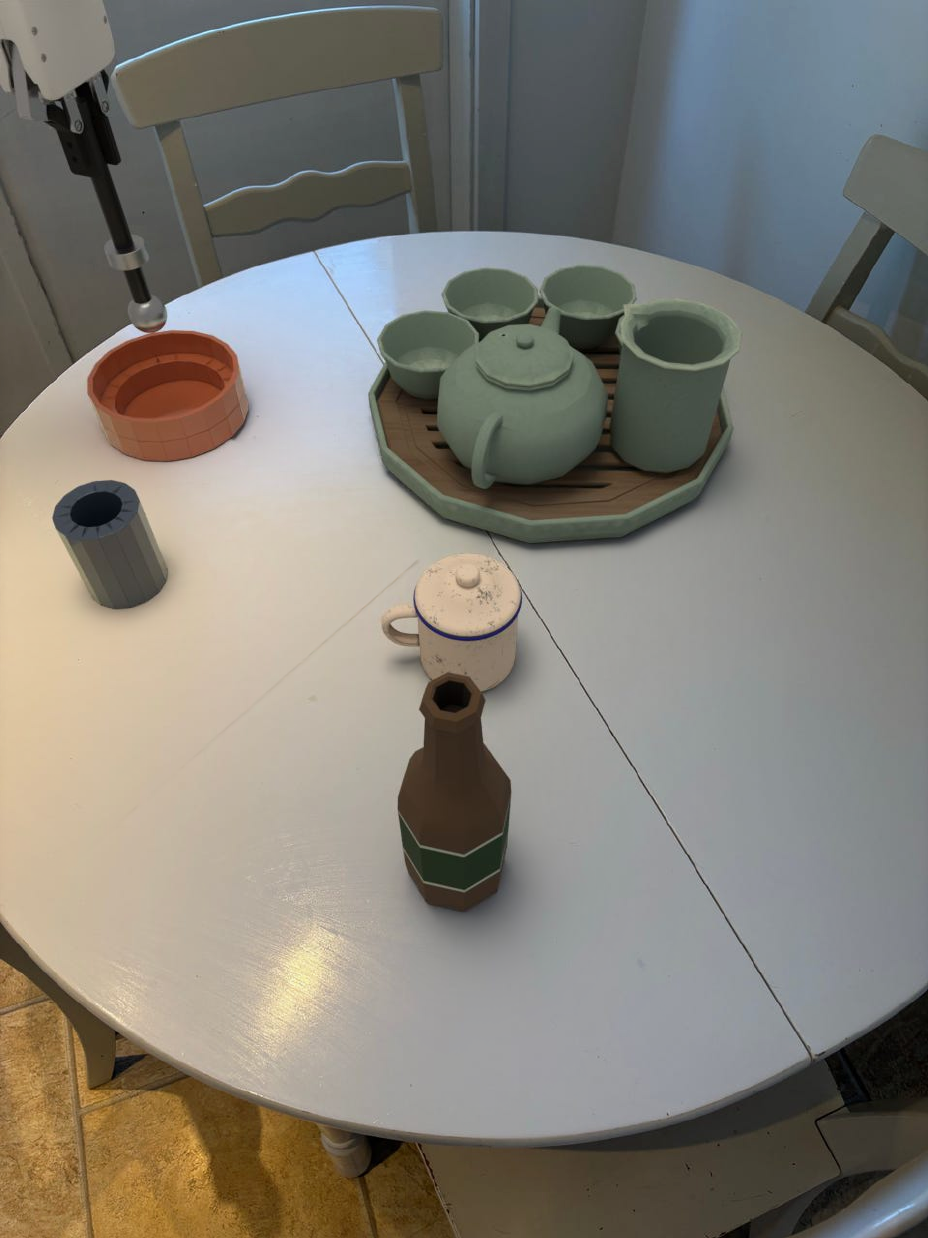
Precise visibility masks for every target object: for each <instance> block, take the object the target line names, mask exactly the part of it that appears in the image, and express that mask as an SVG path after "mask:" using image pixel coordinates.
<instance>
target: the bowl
mask: <svg viewBox="0 0 928 1238" xmlns="http://www.w3.org/2000/svg"><path fill="white" fill-rule="evenodd" d="M244 382H245V381H244V378H243V375H242V370H241V365H240V362H239V358H238V355H237V354H236V352H235V351H234V350H233V348H232V347H231V346H230V344H228V343H227V342H225V341H224V340H222V339H220V338H219V337H216V336H215V335H213V334H208V333H203V332H200V331H196V330H184V329H183V330H181V329H170V330H163V331H157V332H154V333H145V334H142V335H140V336H137V337H134V338H131V339H128V340H126V341H124V342H122V343H120V344H119V345H116V346H115V347H113V348H111V349H109V350H108V351H107V352H106V353H105V354H104V355H103V356H102V357H100V359H98V360H97V361H96V362H95V363H94V364H93V367H92V369H91V370H90V373H89V375H88V376H87V379H86V384H87V385H86V393H87V396H88V398H89V401H90V403H91V406H92V408H93V410H94V413H95V415H96V419H97V420H98V422H99V425H100V427H101V430H102V433H103V434H104V436H105V438H106V439H107V441H108V442H109V444H110V445H111V446H112V447H114V448H115V449H117V450H118V451H119V452H121V453H123V454H124V455H125V456H129V457H131V458H136V459H139V460H141V461H142V460H143V461H150V462H151V461H153V462H171V461H177V460H184V459H189V458H190V459H191V458H194V457H196V456H199V455H202V454H204V453H206V452H209V451H212V450H215V449H216V448H217V447H219V446H220V445H222V444H223V443H225V442H227V441H228V440H229V439H231V438H232V437H234V435H235V434H236V433H237V431H238V430H239V429H240V428H241V427H242V426H243V424H244V423H245V420H246V417H247V415H248V412H249V408H250V407H249V401H248V396H247V391H246V387H245V383H244Z"/></svg>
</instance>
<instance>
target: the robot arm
mask: <svg viewBox="0 0 928 1238" xmlns="http://www.w3.org/2000/svg"><path fill="white" fill-rule="evenodd" d="M117 64H118V59H117V55H116V47H115V41H114V37H113V33H112V29H111V25H110V21H109V17H108V15H107V11H106V8H105V5H104V2H103V0H0V86H1V88H2V90H3V91H4V93H6V94H8V95H15V105H16V111H17V115H18V117H19V118H20V119H22V120H26V121H34V122H43V123H45V124H47V126H48V128H49V129H50V130H55V131H56V134H57V136H58V140H59V143H60V145H61V148H62V151H63V154H64V157H65V159H66V162H67V166H68V168H69V170H70V172H71V173H72V174H73V175H74V176H75V175H76V176H81V177H86V178H90V177H92V178H97V179H100V178H102V177H103V176H104V169H103V165H102V162H101V159H100V156H99V153H98V150H97V147H96V144H95V141H94V138H93V135H92V132H91V130H90V129H86V128H84V124H83V121H82V118H81V115H80V112H79V109H78V106H77V103H76V100H75V97H83V98H85V99H86V102H87V105H88V108H89V111H90V113H91V116H92V119H93V122H94V125H95V128H96V131H97V134H98V137H99V140H100V143H101V146H102V149H103V152H104V155H105V158H106V161H107V164H108V165H111V166H118V165H119V164H121V162H122V158H121V154H120V151H119V148H118V145H117V141H116V138H115V134H114V132H113V128H112V125H111V122H110V119H109V116H108V115H109V113H110V111H111V104H110V101H109V96H108V91H109V84H110V79H111V77H112V75H113V73H114V72H115V69H116V67H117ZM57 102H60V104H61V107H60V106H59V105H57V104H56V103H57Z"/></svg>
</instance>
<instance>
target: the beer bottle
mask: <svg viewBox="0 0 928 1238" xmlns="http://www.w3.org/2000/svg"><path fill="white" fill-rule="evenodd" d="M485 703H486V698H485V696H484V695H483V693H482V692H481V691H480V690H479V689H478V687H477V686H476V685H475V683H474V682H473V681H472V679H471V678H470V677H469V676H464V675H459V674H454V673H449V672H447V673H445V674H443V675H441V676H439V677H437V678H436V679H434V680H432V679H431V680H430V681H428V682H427V685H426V687H425V689H424V692H423V695H422V699H421V701H420V705H419V708H418V710H419V712H420V713H421V715H422V717H423V718H424V723H423V724H424V725H423V727H424V729H423V746H422V747H420V748H418V749H417V750H415V751H413V753H412V755H411V756H410V758H409V759H408V763H407V766H406V769H405V772H404V776H403V779H402V783H401V786H400V788H399V792H398V795H397V816H398V822H399V828H400V837H401V844H402V851H403V859H404V863H405V868H406V870H407V873H408V874H409V876H410V877H411V880H412V881H413V882H414V884H415V886H416V888H417V889H418V891H419V892H420V894H421V895H422V897H423V900H424V901H425V903H426V904H430V905H435V906H439V907H443V908H447V909H450V910H454V911H455V910H456V911H460V912H466V911H468V910H470V909H471V908H473V907H475V906H477V904H479V903H481V902H483V901H484V900H486V899H488V898H489V897H491V896H492V895H494V894H497V892H498V891H499V890H498V889H499V884H500V880H501V876H502V871H503V866H504V863H505V858H506V854H507V849H508V838H509V827H510V815H511V803H512V793H513V792H512V782H511V779H510V777H509V776H508V775H507V773H506V772H505V770H504V768H503V767H502V766H501V765H500V763H499V762H498V761H497V759H496V757H495V756H494V755H493V753H492V752H491V750H490V749H489V748H488V746H487V745H486V744H485V743H484V735H483V724H482V717H483V716H482V715H483V712H484V707H485Z"/></svg>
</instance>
